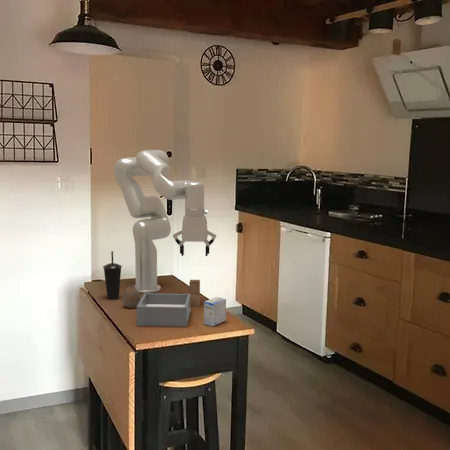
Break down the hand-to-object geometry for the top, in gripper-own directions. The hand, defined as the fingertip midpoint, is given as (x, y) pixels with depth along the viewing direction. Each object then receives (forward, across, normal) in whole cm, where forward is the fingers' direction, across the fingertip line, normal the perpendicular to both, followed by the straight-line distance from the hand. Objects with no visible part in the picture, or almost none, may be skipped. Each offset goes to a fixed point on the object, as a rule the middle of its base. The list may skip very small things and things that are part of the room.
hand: (194, 255), depth 226 cm
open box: (+21, +10, +18) cm, 29 cm away
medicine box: (+21, -9, +22) cm, 32 cm away
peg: (+20, 0, 0) cm, 21 cm away
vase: (+21, +25, +4) cm, 33 cm away
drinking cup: (+20, +35, -8) cm, 41 cm away
